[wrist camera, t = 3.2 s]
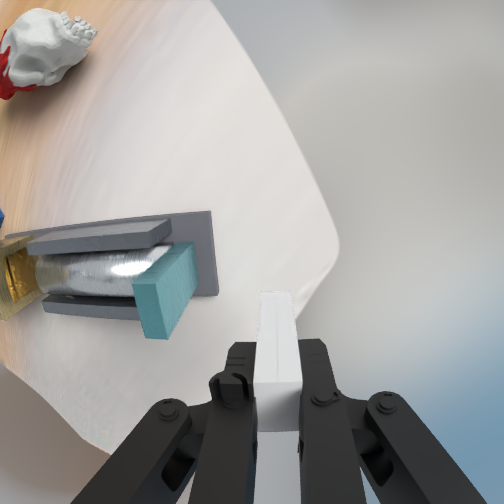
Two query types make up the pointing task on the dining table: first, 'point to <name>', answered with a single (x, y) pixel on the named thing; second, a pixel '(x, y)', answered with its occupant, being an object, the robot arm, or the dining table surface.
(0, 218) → the milk carton
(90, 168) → the dining table surface
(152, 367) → the dining table surface
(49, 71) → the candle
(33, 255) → the guide
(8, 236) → the mat
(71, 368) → the dining table surface
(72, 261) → the bolt
